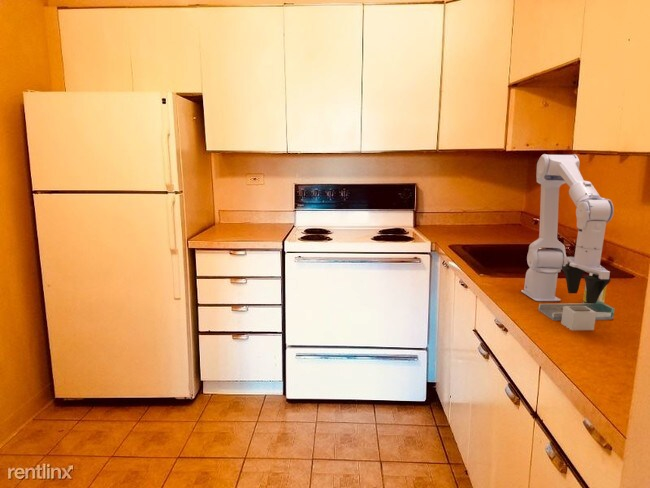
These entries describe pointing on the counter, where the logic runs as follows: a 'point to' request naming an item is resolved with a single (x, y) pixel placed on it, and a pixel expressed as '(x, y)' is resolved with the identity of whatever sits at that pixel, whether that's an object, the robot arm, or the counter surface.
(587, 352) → the counter surface
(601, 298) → the supplement bottle
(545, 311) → the rail plate
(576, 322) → the block
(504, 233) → the counter surface
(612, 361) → the counter surface
